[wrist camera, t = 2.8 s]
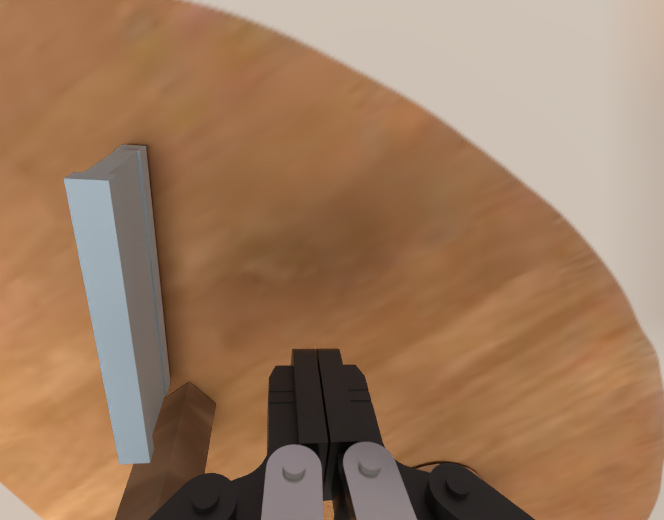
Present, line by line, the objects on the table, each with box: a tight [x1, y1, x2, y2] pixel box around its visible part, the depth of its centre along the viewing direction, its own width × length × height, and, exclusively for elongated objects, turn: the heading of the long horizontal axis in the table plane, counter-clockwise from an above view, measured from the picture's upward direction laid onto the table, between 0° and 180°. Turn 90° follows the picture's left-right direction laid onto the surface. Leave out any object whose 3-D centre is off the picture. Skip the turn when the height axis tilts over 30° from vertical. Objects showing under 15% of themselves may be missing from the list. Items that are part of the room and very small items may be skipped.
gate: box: [64, 144, 170, 464], centre depth 20 cm, size 14×1×6 cm, turn 175°
